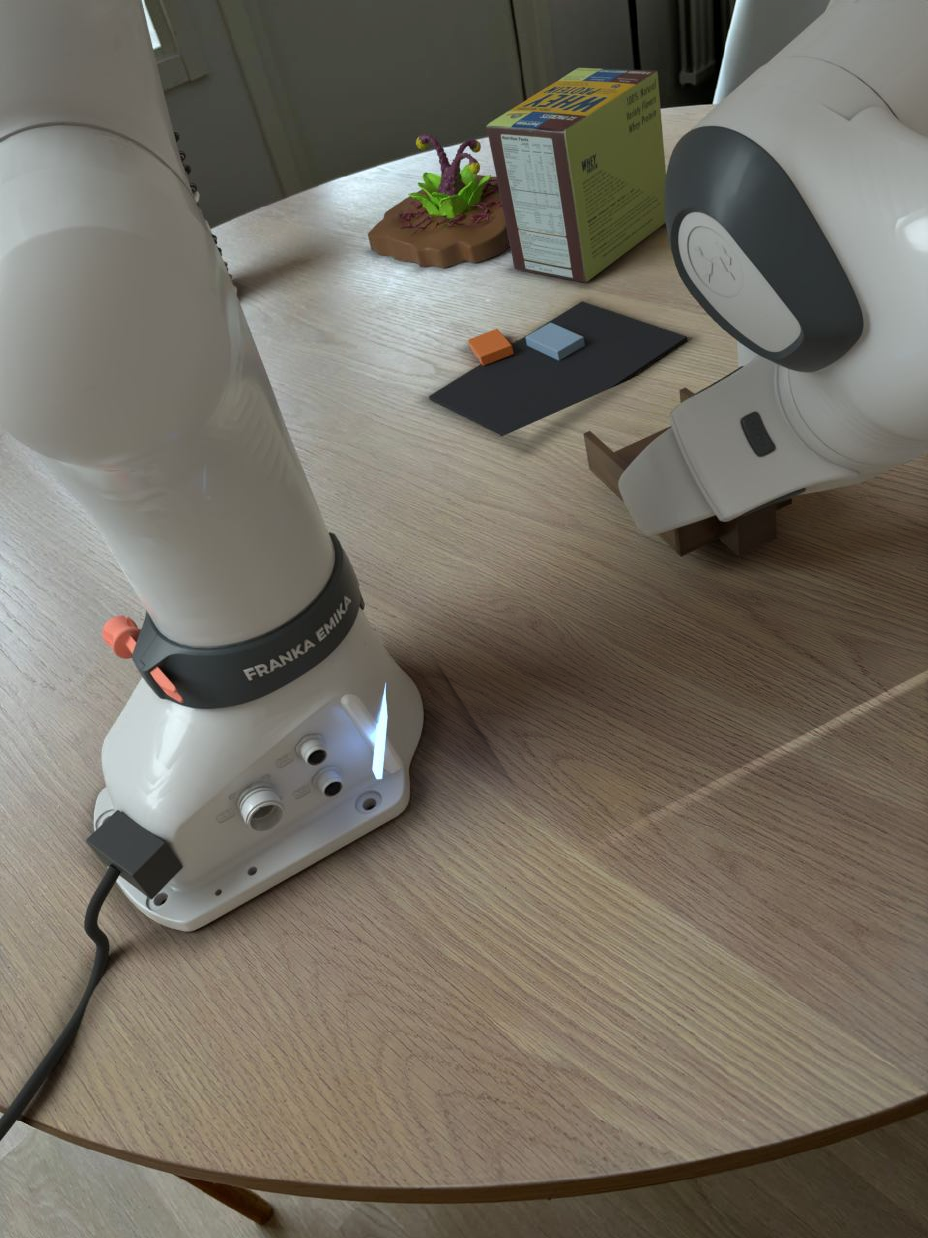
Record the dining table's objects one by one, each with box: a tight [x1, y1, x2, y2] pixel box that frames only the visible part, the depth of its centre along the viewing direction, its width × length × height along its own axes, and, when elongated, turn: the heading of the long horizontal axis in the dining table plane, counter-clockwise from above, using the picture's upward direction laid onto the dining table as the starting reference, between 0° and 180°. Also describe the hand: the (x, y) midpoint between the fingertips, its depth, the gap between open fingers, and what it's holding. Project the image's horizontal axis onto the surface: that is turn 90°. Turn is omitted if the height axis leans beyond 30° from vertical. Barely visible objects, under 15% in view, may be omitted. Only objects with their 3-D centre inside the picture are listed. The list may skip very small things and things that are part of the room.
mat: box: [428, 300, 688, 437], centre depth 94 cm, size 20×14×1 cm
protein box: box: [485, 67, 667, 284], centre depth 106 cm, size 10×15×16 cm
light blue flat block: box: [524, 323, 585, 361], centre depth 96 cm, size 5×3×1 cm, turn 35°
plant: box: [367, 133, 510, 269], centre depth 119 cm, size 20×20×11 cm
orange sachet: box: [467, 328, 514, 366], centre depth 99 cm, size 5×3×1 cm, turn 16°
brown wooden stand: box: [583, 387, 793, 558], centre depth 70 cm, size 15×9×11 cm, turn 24°
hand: (739, 463), depth 65 cm, fingers closed on brown wooden stand, 3 cm apart
